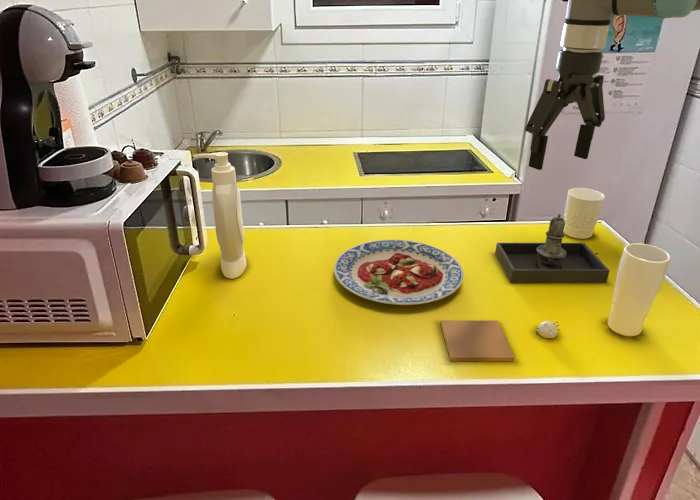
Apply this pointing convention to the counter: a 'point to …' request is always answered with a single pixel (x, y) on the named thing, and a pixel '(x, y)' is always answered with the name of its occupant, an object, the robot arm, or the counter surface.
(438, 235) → the counter surface
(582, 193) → the white cup
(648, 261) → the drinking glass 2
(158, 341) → the counter surface
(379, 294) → the ceramic plate
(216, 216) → the soap bottle
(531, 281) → the tray
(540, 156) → the robot arm
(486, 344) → the cork mat
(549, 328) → the cream rounded lump
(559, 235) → the salt shaker
